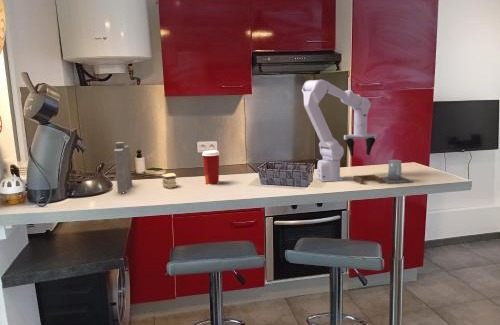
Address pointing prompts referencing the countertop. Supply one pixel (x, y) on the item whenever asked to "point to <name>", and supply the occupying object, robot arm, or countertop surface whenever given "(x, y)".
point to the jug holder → (367, 178)
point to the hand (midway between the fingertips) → (359, 155)
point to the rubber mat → (403, 180)
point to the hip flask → (122, 167)
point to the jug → (394, 170)
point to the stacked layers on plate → (169, 180)
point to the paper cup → (211, 166)
